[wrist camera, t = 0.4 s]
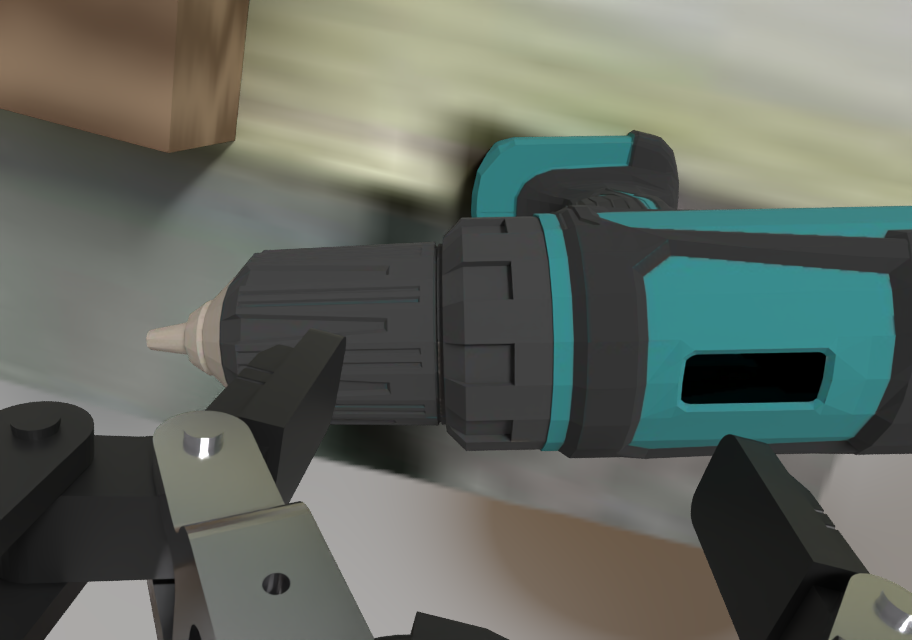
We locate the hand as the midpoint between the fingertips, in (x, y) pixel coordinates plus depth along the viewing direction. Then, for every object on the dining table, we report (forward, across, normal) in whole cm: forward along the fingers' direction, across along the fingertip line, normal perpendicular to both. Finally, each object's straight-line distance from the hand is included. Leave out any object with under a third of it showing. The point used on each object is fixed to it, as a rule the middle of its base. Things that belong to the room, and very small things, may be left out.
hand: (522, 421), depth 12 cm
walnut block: (+28, +25, -5) cm, 38 cm away
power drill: (+28, -2, 0) cm, 28 cm away
